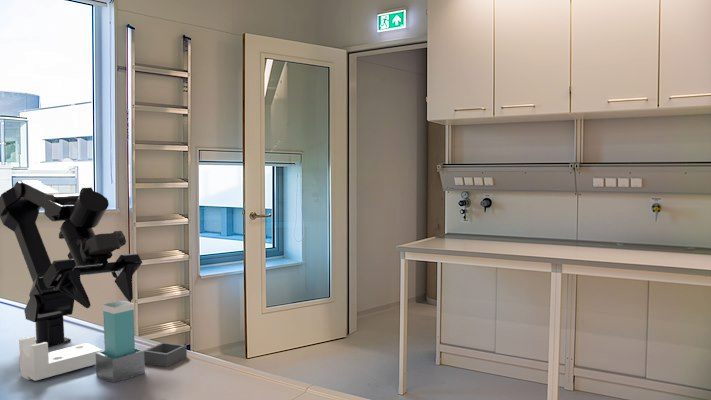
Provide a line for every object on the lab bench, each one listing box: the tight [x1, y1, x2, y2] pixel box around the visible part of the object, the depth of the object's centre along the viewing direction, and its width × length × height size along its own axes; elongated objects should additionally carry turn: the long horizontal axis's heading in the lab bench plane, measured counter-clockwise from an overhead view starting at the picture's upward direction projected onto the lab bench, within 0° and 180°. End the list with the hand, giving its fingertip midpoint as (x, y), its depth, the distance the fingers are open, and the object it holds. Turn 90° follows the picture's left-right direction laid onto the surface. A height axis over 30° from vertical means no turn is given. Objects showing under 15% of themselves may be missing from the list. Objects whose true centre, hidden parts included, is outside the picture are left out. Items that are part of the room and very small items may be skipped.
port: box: [95, 346, 146, 384], centre depth 111 cm, size 6×6×4 cm
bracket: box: [18, 335, 104, 382], centre depth 114 cm, size 13×7×8 cm, turn 139°
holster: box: [144, 341, 188, 368], centre depth 119 cm, size 6×6×2 cm
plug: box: [101, 300, 136, 358], centre depth 111 cm, size 4×4×13 cm
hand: (110, 303), depth 113 cm, fingers open, 9 cm apart
